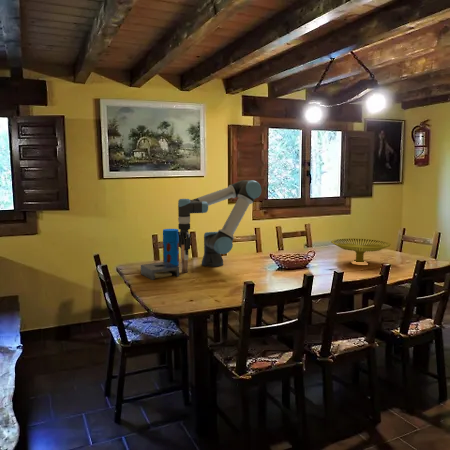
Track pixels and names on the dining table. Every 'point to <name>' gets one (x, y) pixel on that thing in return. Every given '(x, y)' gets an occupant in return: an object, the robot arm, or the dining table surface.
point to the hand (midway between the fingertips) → (184, 259)
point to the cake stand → (360, 247)
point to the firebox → (159, 270)
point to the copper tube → (184, 262)
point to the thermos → (171, 246)
